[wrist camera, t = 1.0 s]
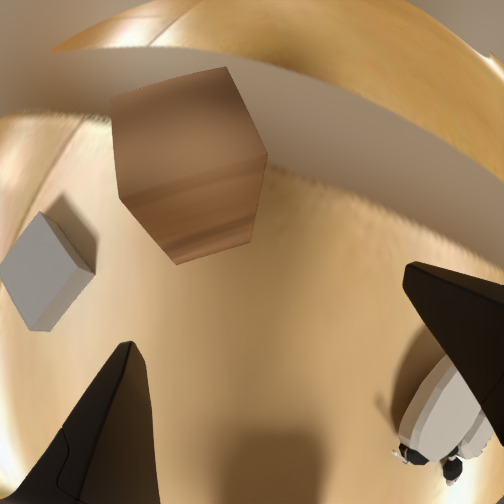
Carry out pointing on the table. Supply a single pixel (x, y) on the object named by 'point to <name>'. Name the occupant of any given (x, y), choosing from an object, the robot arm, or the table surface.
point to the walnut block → (189, 163)
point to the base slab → (43, 274)
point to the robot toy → (443, 422)
